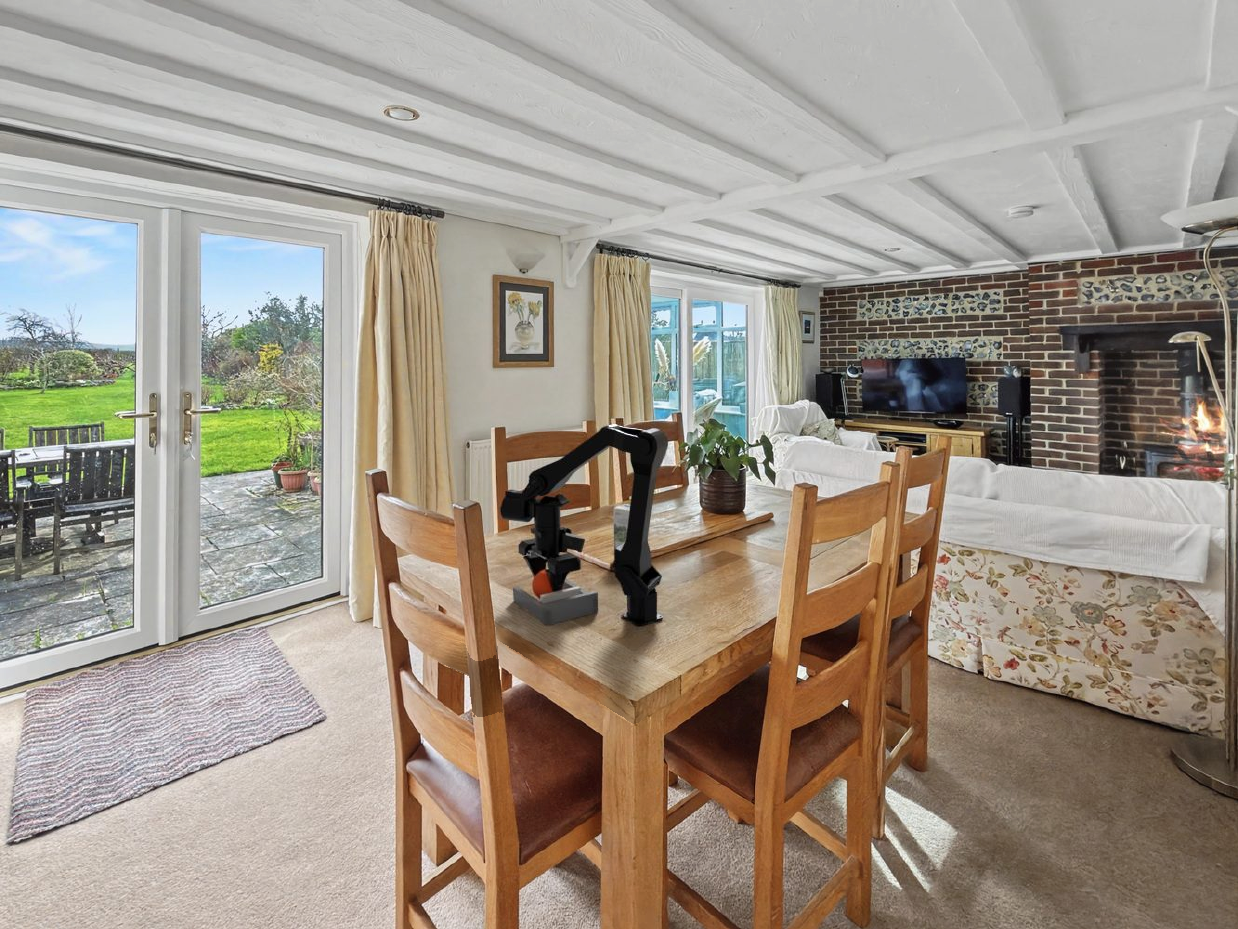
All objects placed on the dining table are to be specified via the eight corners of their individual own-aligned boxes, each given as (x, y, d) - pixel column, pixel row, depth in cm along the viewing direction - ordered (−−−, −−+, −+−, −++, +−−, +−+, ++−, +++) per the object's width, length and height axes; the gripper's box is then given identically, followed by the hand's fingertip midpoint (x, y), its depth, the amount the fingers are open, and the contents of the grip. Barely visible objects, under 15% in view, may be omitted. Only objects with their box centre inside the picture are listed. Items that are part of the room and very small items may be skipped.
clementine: (574, 596, 140) (572, 566, 139) (558, 608, 134) (556, 576, 133) (543, 593, 143) (541, 563, 142) (527, 603, 137) (524, 572, 136)
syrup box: (642, 557, 170) (642, 505, 168) (631, 563, 165) (630, 509, 163) (624, 553, 173) (624, 502, 171) (613, 559, 168) (612, 507, 166)
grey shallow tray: (598, 611, 134) (597, 592, 133) (546, 625, 127) (545, 605, 126) (562, 589, 147) (561, 571, 146) (513, 600, 140) (512, 582, 139)
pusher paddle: (580, 605, 137) (580, 587, 136) (543, 615, 132) (542, 597, 131) (578, 603, 138) (577, 586, 137) (540, 613, 133) (540, 595, 132)
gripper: (601, 527, 133) (602, 597, 136) (559, 510, 148) (561, 573, 151) (555, 536, 127) (557, 609, 129) (516, 517, 142) (518, 582, 145)
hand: (549, 592), depth 139 cm, fingers closed on clementine, 7 cm apart
